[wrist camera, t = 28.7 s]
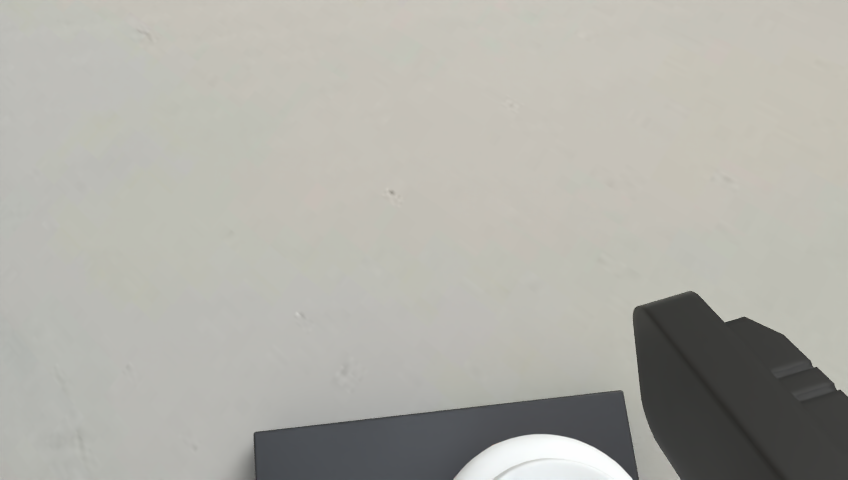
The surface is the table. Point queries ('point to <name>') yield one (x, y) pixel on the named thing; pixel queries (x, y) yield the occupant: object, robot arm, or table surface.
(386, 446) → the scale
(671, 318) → the robot arm
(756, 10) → the table surface
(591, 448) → the pill bottle
